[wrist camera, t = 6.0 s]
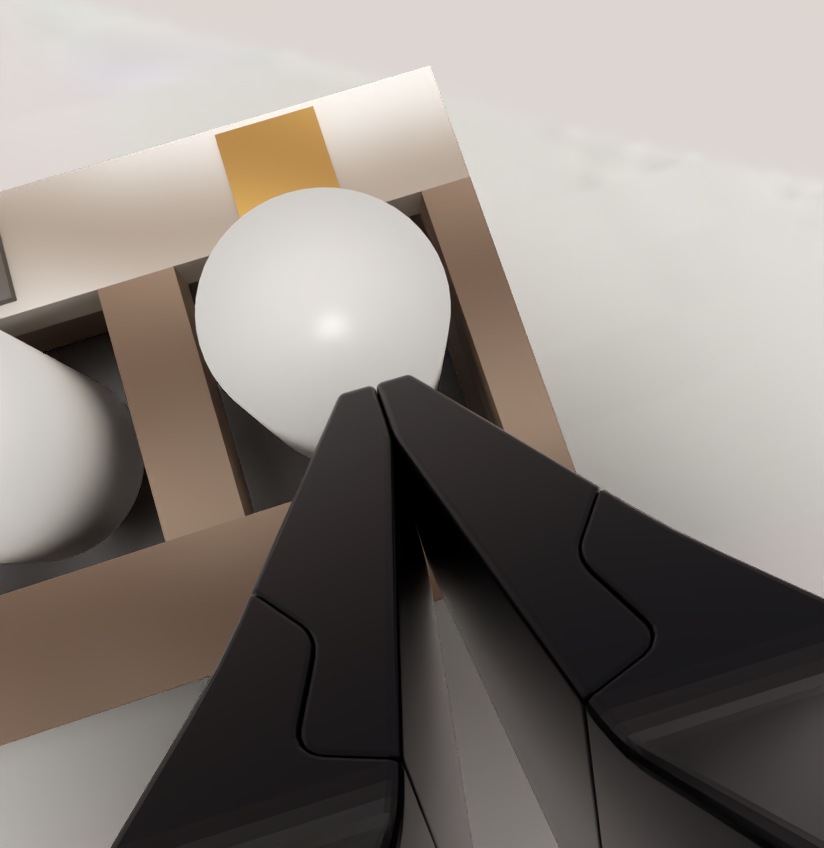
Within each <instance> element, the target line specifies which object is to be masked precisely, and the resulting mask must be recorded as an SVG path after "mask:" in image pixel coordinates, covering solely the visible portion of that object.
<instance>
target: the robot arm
mask: <svg viewBox="0 0 824 848" xmlns="http://www.w3.org/2000/svg"><path fill="white" fill-rule="evenodd" d="M376 389H377V391H376ZM376 389H375V388H374V387H371V386H367V387H363V388H360V389H356V390H353V391H349V392H346V393H343V394H341V395H340V396H339V397H338V399H337V401H336V403H335V406H334V408H333V410H332V412H331V415H330V417H329V419H328V421H327V424H326V426H325V428H324V430H323V433H322V435H321V437H320V439H319V442H318V444H317V446H316V448H315V451H314V453H313V455H312V457H311V460H310V462H309V464H308V466H307V469H306V471H305V473H304V475H303V478H302V480H301V482H300V484H299V487H298V489H297V491H296V493H295V496H294V498H293V500H292V502H291V505H290V507H289V509H288V511H287V514H286V516H285V518H284V520H283V523H282V525H281V527H280V529H279V532H278V534H277V536H276V538H275V541H274V543H273V545H272V547H271V550H270V552H269V554H268V556H267V559H266V561H265V563H264V565H263V568H262V570H261V572H260V574H259V577H258V579H257V581H256V583H255V586H254V588H253V590H252V596H250V597H249V598H248V600H247V603H246V605H245V607H244V610H243V612H242V614H241V616H240V619H239V621H238V623H237V625H236V627H235V629H234V631H233V634H232V636H231V638H230V640H229V642H228V644H227V646H226V648H225V650H224V652H223V654H222V656H221V658H220V660H219V662H218V664H217V666H216V669H215V670H214V672H213V674H212V676H211V677H210V679H209V681H208V683H207V685H206V686H205V688H204V690H203V692H202V694H201V695H200V697H199V699H198V701H197V702H196V704H195V706H194V708H193V710H192V711H191V713H190V715H189V717H188V719H187V720H186V722H185V724H184V725H183V727H182V729H181V730H180V732H179V734H178V735H177V737H176V739H175V740H174V742H173V744H172V745H171V747H170V749H169V751H168V752H167V754H166V756H165V757H164V759H163V761H162V762H161V764H160V766H159V767H158V769H157V771H156V772H155V774H154V776H153V777H152V779H151V781H150V782H149V784H148V786H147V787H146V789H145V791H144V793H143V794H142V796H141V798H140V799H139V801H138V803H137V804H136V806H135V808H134V809H133V811H132V813H131V814H130V816H129V818H128V819H127V821H126V823H125V824H124V826H123V828H122V829H121V831H120V833H119V835H118V836H117V838H116V840H115V841H114V843H113V845H112V846H111V848H473V844H472V838H471V832H470V825H469V819H468V813H467V807H466V800H465V794H464V788H463V782H462V775H461V769H460V763H459V757H458V751H457V744H456V738H455V732H454V726H453V719H452V713H451V707H450V701H449V695H448V688H447V682H446V676H445V670H444V663H443V657H442V651H441V645H440V639H439V632H438V626H437V620H436V614H435V607H434V601H433V595H432V589H431V583H430V578H429V572H428V567H427V563H426V559H425V556H424V552H425V555H426V558H427V561H428V564H429V566H430V569H431V571H432V573H433V576H434V578H435V580H436V583H437V585H438V587H439V589H440V591H441V594H442V596H443V598H444V600H445V602H446V604H447V606H448V609H449V611H450V613H451V615H452V617H453V619H454V622H455V624H456V626H457V628H458V630H459V632H460V634H461V637H462V639H463V641H464V643H465V645H466V647H467V650H468V652H469V654H470V656H471V658H472V660H473V662H474V665H475V667H476V669H477V671H478V673H479V675H480V678H481V680H482V682H483V684H484V686H485V688H486V690H487V693H488V695H489V697H490V699H491V701H492V703H493V706H494V708H495V710H496V712H497V714H498V716H499V718H500V721H501V723H502V725H503V727H504V729H505V731H506V734H507V736H508V738H509V740H510V742H511V744H512V746H513V749H514V751H515V753H516V755H517V757H518V759H519V762H520V764H521V766H522V768H523V770H524V772H525V774H526V777H527V779H528V781H529V783H530V785H531V787H532V790H533V792H534V794H535V796H536V798H537V800H538V802H539V805H540V807H541V809H542V811H543V813H544V815H545V818H546V820H547V822H548V824H549V826H550V828H551V830H552V833H553V835H554V837H555V839H556V841H557V843H558V846H559V848H824V598H822V597H819V596H817V595H815V594H813V593H811V592H808V591H806V590H804V589H802V588H800V587H797V586H795V585H793V584H791V583H789V582H786V581H784V580H782V579H780V578H777V577H775V576H773V575H771V574H769V573H766V572H764V571H762V570H760V569H758V568H755V567H753V566H751V565H749V564H747V563H744V562H742V561H740V560H738V559H736V558H733V557H731V556H729V555H727V554H725V553H722V552H720V551H718V550H716V549H714V548H712V547H710V546H708V545H706V544H704V543H702V542H700V541H698V540H696V539H693V538H691V537H689V536H687V535H685V534H683V533H681V532H679V531H677V530H675V529H673V528H671V527H669V526H667V525H666V524H664V523H662V522H660V521H658V520H656V519H655V518H653V517H651V516H649V515H647V514H646V513H644V512H642V511H640V510H638V509H637V508H635V507H633V506H631V505H629V504H628V503H626V502H624V501H623V500H621V499H619V498H618V497H616V496H614V495H613V494H611V493H609V492H608V491H606V490H601V491H600V488H599V487H598V486H597V485H595V484H593V483H592V482H590V481H588V480H587V479H585V478H583V477H582V476H580V475H578V474H577V473H575V472H573V471H572V470H570V469H568V468H567V467H565V466H563V465H562V464H560V463H558V462H556V461H555V460H553V459H551V458H550V457H548V456H546V455H545V454H543V453H541V452H540V451H538V450H536V449H535V448H533V447H531V446H530V445H528V444H526V443H525V442H523V441H521V440H519V439H518V438H516V437H514V436H513V435H511V434H509V433H508V432H506V431H504V430H503V429H501V428H499V427H498V426H496V425H494V424H493V423H491V422H489V421H488V420H486V419H484V418H482V417H481V416H479V415H477V414H476V413H474V412H472V411H471V410H469V409H467V408H466V407H464V406H462V405H461V404H459V403H457V402H456V401H454V400H452V399H451V398H449V397H447V396H445V395H444V394H442V393H440V392H439V391H437V390H435V389H434V388H432V387H430V386H429V385H427V384H425V383H424V382H422V381H420V380H419V379H417V378H415V377H414V376H411V375H404V376H401V377H398V378H394V379H391V380H387V381H384V382H381V383H379V384H378V385H377V388H376ZM418 533H419V534H418ZM420 540H421V541H420ZM421 543H422V544H421ZM422 546H423V548H422ZM423 549H424V552H423Z"/></svg>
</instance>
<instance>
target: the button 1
mask: <svg viewBox="0 0 824 848" xmlns="http://www.w3.org/2000/svg"><path fill="white" fill-rule="evenodd" d="M450 315H451V300H450V293H449V285H448V281H447V278H446V274H445V270H444V268H443V265H442V263H441V261H440V258H439V256H438V254H437V252H436V251H435V249H434V247H433V246H432V244H431V242H430V241H429V239H428V238H427V237H426V236H425V234H424V233H423V232H422V230H421V229H420V228H419V227H418V226H417V225H416V224H415V223H414V222H413V221H412V220H411V219H410V218H409V217H407V216H406V215H405V214H403V213H402V212H401V211H399V210H398V209H396V208H395V207H393V206H391V205H390V204H388V203H386V202H384V201H383V200H380V199H378V198H375V197H373V196H371V195H368V194H365V193H361V192H357V191H354V190H349V189H342V188H328V187H318V188H308V189H301V190H297V191H293V192H288V193H285V194H282V195H280V196H277V197H274V198H271V199H269V200H268V201H266V202H264V203H262V204H260V205H258V206H256V207H255V208H253V209H252V210H250V211H249V212H247V213H246V214H244V215H243V216H242V217H241V218H240V219H239V220H237V221H236V222H235V223H234V224H233V225H232V226H231V227H230V228H229V229H228V230H227V231H226V233H225V234H224V235H223V236H222V237H221V238H220V240H219V241H218V243H217V244H216V246H215V247H214V249H213V250H212V252H211V254H210V256H209V258H208V260H207V262H206V264H205V266H204V268H203V271H202V274H201V277H200V280H199V284H198V289H197V294H196V304H195V321H196V331H197V336H198V341H199V345H200V348H201V351H202V353H203V356H204V359H205V361H206V363H207V365H208V367H209V369H210V371H211V373H212V375H213V376H214V377H215V379H216V380H217V382H218V383H219V384H220V386H221V387H222V389H223V390H224V391H225V392H226V393H227V394H228V395H229V396H230V397H231V398H232V399H233V400H234V401H235V402H236V403H237V404H239V405H240V406H241V407H242V408H243V409H245V410H246V411H247V412H248V413H249V414H251V415H252V416H253V417H254V418H255V419H256V420H258V421H259V422H260V423H261V424H262V425H264V426H265V427H266V428H267V429H268V430H270V431H271V432H272V433H273V434H274V435H275V436H277V437H278V438H279V439H280V440H281V441H283V442H284V443H285V444H286V445H288V446H289V447H290V448H291V449H293V450H295V451H296V452H298V453H300V454H301V455H304V456H306V457H308V458H310V459H311V457H312V455H313V453H314V451H315V448H316V446H317V444H318V442H319V439H320V437H321V435H322V433H323V430H324V428H325V426H326V424H327V421H328V419H329V417H330V415H331V412H332V410H333V408H334V406H335V403H336V401H337V399H338V397H339V396H340V395H341V394H343V393H346V392H349V391H353V390H356V389H360V388H363V387H367V386H371V387H374V388H375V389H376V388H377V385H378V384H379V383H381V382H384V381H387V380H391V379H394V378H398V377H401V376H404V375H411V376H414V377H415V378H417V379H419V380H420V381H422V382H424V383H425V384H427V385H429V386H430V387H432V388H434V389H435V390H437V391H438V388H439V382H440V376H441V371H442V365H443V359H444V354H445V348H446V343H447V337H448V331H449V324H450ZM376 391H377V389H376Z"/></svg>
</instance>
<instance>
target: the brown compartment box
mask: <svg viewBox="0 0 824 848" xmlns="http://www.w3.org/2000/svg"><path fill="white" fill-rule="evenodd" d="M318 187H328V188H342V189H349V190H354V191H357V192H361V193H365V194H368V195H371V196H373V197H375V198H378V199H380V200H383V201H384V202H386V203H388V204H390V205H391V206H393V207H395V208H396V209H398V210H399V211H401V212H402V213H403V214H405V215H406V216H407V217H409V218H410V219H411V220H412V221H413V222H414V223H415V224H416V225H417V226H418V227H419V228H420V229H421V230H422V232H423V233H424V234H425V236H426V237H427V238H428V239H429V241H430V242H431V244H432V246H433V247H434V249H435V251H436V252H437V254H438V256H439V258H440V261H441V263H442V265H443V268H444V270H445V274H446V278H447V281H448V285H449V293H450V300H451V315H450V324H449V331H448V337H447V343H446V345H447V348H448V351H449V354H450V357H451V360H452V363H453V366H454V368H455V371H456V374H457V377H458V380H459V383H460V386H461V389H462V392H463V395H464V398H465V401H466V404H467V407H468V409H469V410H471V411H472V412H474V413H476V414H477V415H479V416H481V417H482V418H484V419H486V420H488V421H489V422H491V423H493V424H494V425H496V426H498V427H499V428H501V429H503V430H504V431H506V432H508V433H509V434H511V435H513V436H514V437H516V438H518V439H519V440H521V441H523V442H525V443H526V444H528V445H530V446H531V447H533V448H535V449H536V450H538V451H540V452H541V453H543V454H545V455H546V456H548V457H550V458H551V459H553V460H555V461H556V462H558V463H560V464H562V465H563V466H565V467H567V468H568V469H570V470H572V471H573V472H575V473H576V471H575V468H574V466H573V463H572V460H571V457H570V454H569V452H568V449H567V446H566V443H565V440H564V438H563V435H562V432H561V429H560V426H559V424H558V421H557V418H556V415H555V413H554V410H553V407H552V404H551V401H550V399H549V396H548V393H547V390H546V387H545V385H544V382H543V379H542V376H541V374H540V371H539V368H538V365H537V362H536V360H535V357H534V354H533V351H532V348H531V346H530V343H529V340H528V337H527V334H526V332H525V329H524V326H523V323H522V321H521V318H520V315H519V312H518V309H517V307H516V304H515V301H514V298H513V295H512V293H511V290H510V287H509V284H508V281H507V279H506V276H505V273H504V270H503V268H502V265H501V262H500V259H499V256H498V254H497V251H496V248H495V245H494V242H493V240H492V237H491V234H490V231H489V228H488V226H487V223H486V220H485V217H484V215H483V212H482V209H481V206H480V203H479V201H478V198H477V195H476V192H475V189H474V187H473V184H472V181H471V178H470V176H469V173H468V170H467V167H466V164H465V162H464V159H463V156H462V153H461V150H460V148H459V145H458V142H457V139H456V136H455V134H454V131H453V128H452V125H451V123H450V120H449V117H448V114H447V111H446V109H445V106H444V103H443V100H442V97H441V95H440V92H439V89H438V86H437V84H436V81H435V78H434V75H433V72H432V70H431V67H430V66H426V67H423V68H420V69H416V70H413V71H409V72H406V73H403V74H399V75H396V76H392V77H389V78H386V79H382V80H379V81H375V82H372V83H369V84H365V85H362V86H359V87H355V88H352V89H348V90H345V91H342V92H338V93H335V94H331V95H328V96H325V97H321V98H318V99H314V100H311V101H308V102H304V103H301V104H297V105H294V106H291V107H287V108H284V109H280V110H277V111H274V112H270V113H267V114H263V115H260V116H257V117H253V118H250V119H246V120H243V121H240V122H236V123H233V124H229V125H226V126H223V127H219V128H216V129H212V130H209V131H206V132H202V133H199V134H195V135H192V136H189V137H185V138H182V139H178V140H175V141H172V142H168V143H165V144H161V145H158V146H155V147H151V148H148V149H145V150H141V151H138V152H134V153H131V154H128V155H124V156H121V157H117V158H114V159H111V160H107V161H104V162H100V163H97V164H94V165H90V166H87V167H83V168H80V169H77V170H73V171H70V172H66V173H63V174H60V175H56V176H53V177H49V178H46V179H43V180H39V181H36V182H32V183H29V184H26V185H22V186H19V187H15V188H12V189H9V190H5V191H2V192H0V330H1V331H3V332H5V333H7V334H9V335H11V336H12V337H14V338H16V339H18V340H20V341H22V342H24V343H26V344H27V345H29V346H31V347H33V348H35V349H37V350H39V351H41V352H44V351H48V350H51V349H54V348H57V347H61V346H64V345H67V344H70V343H74V342H77V341H80V340H83V339H87V338H90V337H93V336H96V335H100V334H103V333H106V332H109V335H110V339H111V343H112V346H113V350H114V354H115V358H116V361H117V365H118V369H119V372H120V376H121V380H122V383H123V387H124V391H125V395H126V398H127V402H128V406H129V409H130V413H131V417H132V420H133V424H134V428H135V432H136V435H137V439H138V443H139V446H140V450H141V454H142V457H143V461H144V465H145V469H146V472H147V476H148V480H149V483H150V487H151V491H152V495H153V498H154V502H155V506H156V509H157V513H158V517H159V520H160V524H161V528H162V532H163V535H164V539H165V542H163V543H160V544H157V545H154V546H151V547H148V548H145V549H142V550H138V551H135V552H132V553H129V554H126V555H123V556H120V557H117V558H114V559H110V560H107V561H104V562H101V563H98V564H95V565H92V566H89V567H86V568H83V569H79V570H76V571H73V572H70V573H67V574H64V575H61V576H58V577H55V578H51V579H48V580H45V581H42V582H39V583H36V584H33V585H30V586H27V587H24V588H20V589H17V590H14V591H11V592H8V593H5V594H2V595H0V746H1V745H4V744H7V743H10V742H13V741H16V740H19V739H22V738H25V737H28V736H31V735H34V734H37V733H40V732H43V731H46V730H49V729H52V728H55V727H58V726H61V725H64V724H67V723H70V722H73V721H76V720H79V719H82V718H85V717H88V716H91V715H94V714H97V713H100V712H103V711H106V710H109V709H112V708H115V707H118V706H121V705H124V704H127V703H130V702H133V701H136V700H139V699H142V698H145V697H148V696H151V695H154V694H157V693H160V692H163V691H166V690H169V689H172V688H175V687H178V686H181V685H184V684H187V683H190V682H193V681H196V680H199V679H202V678H205V677H208V676H211V675H212V674H213V672H214V670H215V669H216V666H217V664H218V662H219V660H220V658H221V656H222V654H223V652H224V650H225V648H226V646H227V644H228V642H229V640H230V638H231V636H232V634H233V631H234V629H235V627H236V625H237V623H238V621H239V619H240V616H241V614H242V612H243V610H244V607H245V605H246V603H247V600H248V598H249V597H250V596H252V590H253V588H254V586H255V583H256V581H257V579H258V577H259V574H260V572H261V570H262V568H263V565H264V563H265V561H266V559H267V556H268V554H269V552H270V550H271V547H272V545H273V543H274V541H275V538H276V536H277V534H278V532H279V529H280V527H281V525H282V523H283V520H284V518H285V516H286V514H287V511H288V509H289V507H290V505H291V502H292V501H291V502H287V503H284V504H281V505H278V506H275V507H272V508H269V509H266V510H263V511H260V512H256V513H254V510H253V506H252V503H251V500H250V496H249V493H248V489H247V486H246V482H245V479H244V475H243V472H242V468H241V465H240V462H239V458H238V455H237V451H236V448H235V444H234V441H233V437H232V434H231V431H230V427H229V424H228V420H227V417H226V413H225V410H224V406H223V403H222V399H221V396H220V393H219V389H218V386H217V382H216V379H215V377H214V376H213V375H212V373H211V371H210V369H209V367H208V365H207V363H206V361H205V359H204V356H203V353H202V351H201V348H200V345H199V341H198V336H197V331H196V321H195V306H194V305H195V304H196V294H197V289H198V284H199V280H200V277H201V274H202V271H203V268H204V266H205V264H206V262H207V260H208V258H209V256H210V254H211V252H212V250H213V249H214V247H215V246H216V244H217V243H218V241H219V240H220V238H221V237H222V236H223V235H224V234H225V233H226V231H227V230H228V229H229V228H230V227H231V226H232V225H233V224H234V223H235V222H236V221H237V220H239V219H240V218H241V217H242V216H243V215H244V214H246V213H247V212H249V211H250V210H252V209H253V208H255V207H256V206H258V205H260V204H262V203H264V202H266V201H268V200H269V199H271V198H274V197H277V196H280V195H282V194H285V193H288V192H293V191H297V190H301V189H308V188H318ZM418 534H419V533H418ZM420 541H421V540H420ZM421 544H422V543H421ZM422 548H423V546H422ZM423 552H424V549H423ZM424 556H425V559H426V563H427V567H428V572H429V578H430V583H431V589H432V595H433V601H437V600H440V599H443V596H442V594H441V591H440V589H439V587H438V585H437V583H436V580H435V578H434V576H433V573H432V571H431V569H430V566H429V564H428V561H427V558H426V555H425V552H424Z"/></svg>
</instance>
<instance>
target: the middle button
mask: <svg viewBox="0 0 824 848" xmlns="http://www.w3.org/2000/svg"><path fill="white" fill-rule="evenodd" d="M143 473H144V461H143V457H142V454H141V450H140V446H139V443H138V439H137V435H136V432H135V428H134V424H133V420H132V417H131V413H130V411H129V409H128V408H127V406H126V405H125V404H124V403H123V402H122V400H121V399H120V398H119V397H118V396H117V395H116V394H114V393H113V392H112V391H111V390H110V389H108V388H107V387H105V386H103V385H102V384H100V383H99V382H97V381H95V380H93V379H91V378H89V377H87V376H86V375H84V374H82V373H80V372H78V371H76V370H74V369H72V368H71V367H69V366H67V365H65V364H63V363H61V362H59V361H57V360H56V359H54V358H52V357H50V356H48V355H46V354H44V353H42V352H41V351H39V350H37V349H35V348H33V347H31V346H29V345H27V344H26V343H24V342H22V341H20V340H18V339H16V338H14V337H12V336H11V335H9V334H7V333H5V332H3V331H1V330H0V564H1V563H29V562H49V561H58V560H63V559H67V558H70V557H74V556H76V555H79V554H81V553H84V552H86V551H87V550H89V549H91V548H93V547H95V546H96V545H98V544H99V543H100V542H102V541H103V540H105V539H106V538H107V537H108V536H109V535H110V534H111V533H113V532H114V531H115V530H116V529H117V527H118V526H119V525H120V524H121V523H122V522H123V520H124V519H125V518H126V516H127V514H128V513H129V511H130V510H131V508H132V506H133V504H134V502H135V500H136V498H137V495H138V492H139V489H140V487H141V483H142V478H143Z"/></svg>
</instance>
